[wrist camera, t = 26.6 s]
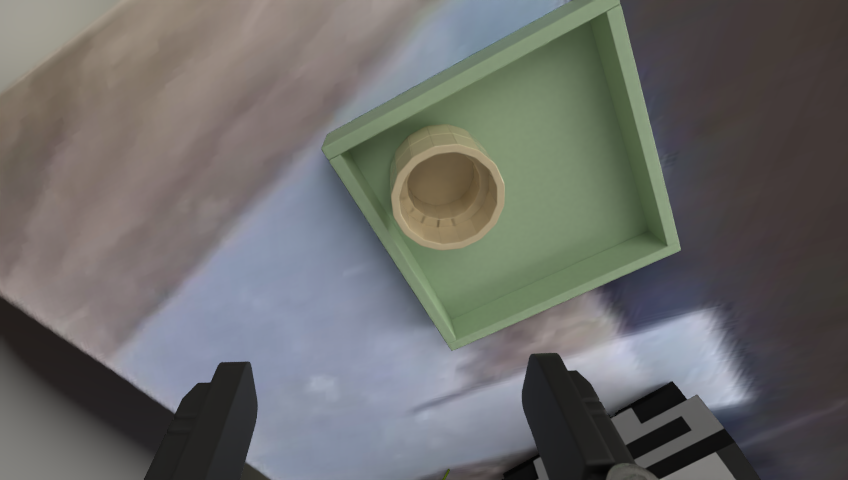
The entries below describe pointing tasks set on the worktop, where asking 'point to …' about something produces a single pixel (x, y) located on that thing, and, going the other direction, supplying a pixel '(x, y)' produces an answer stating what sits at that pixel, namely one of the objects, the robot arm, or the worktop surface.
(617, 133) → the tray
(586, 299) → the worktop surface
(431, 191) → the beige cup
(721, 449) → the game console
